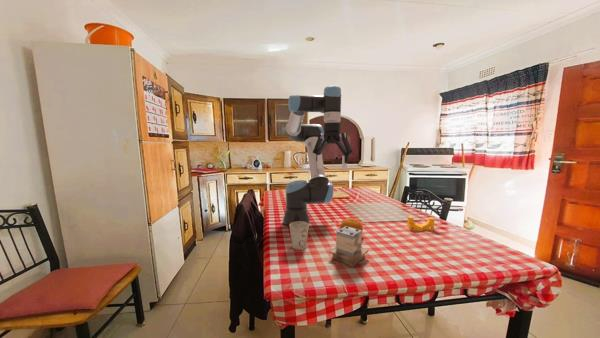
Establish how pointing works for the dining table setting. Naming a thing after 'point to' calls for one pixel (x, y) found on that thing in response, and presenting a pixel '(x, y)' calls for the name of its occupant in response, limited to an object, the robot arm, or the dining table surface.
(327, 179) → the robot arm
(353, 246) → the housing
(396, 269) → the dining table surface
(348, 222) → the fruit
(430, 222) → the pipe clamp
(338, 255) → the stand
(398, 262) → the dining table surface
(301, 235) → the mug
